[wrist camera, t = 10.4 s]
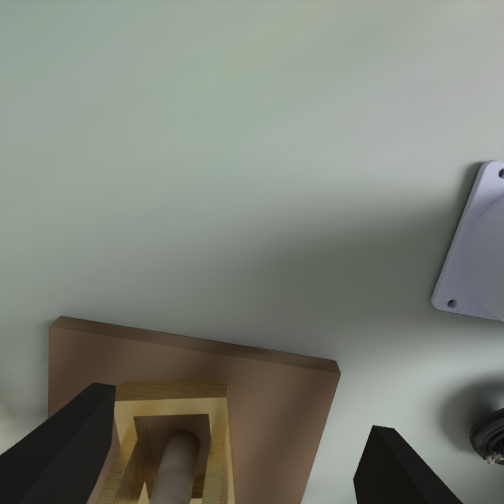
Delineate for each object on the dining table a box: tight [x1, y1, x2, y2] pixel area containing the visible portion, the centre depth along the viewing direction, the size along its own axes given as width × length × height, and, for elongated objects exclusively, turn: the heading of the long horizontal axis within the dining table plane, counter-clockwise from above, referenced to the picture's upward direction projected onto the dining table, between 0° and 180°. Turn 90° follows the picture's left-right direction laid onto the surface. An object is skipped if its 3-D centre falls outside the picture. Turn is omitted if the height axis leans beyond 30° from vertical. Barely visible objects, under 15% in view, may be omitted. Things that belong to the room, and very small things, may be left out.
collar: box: [95, 379, 237, 504], centre depth 18 cm, size 6×8×6 cm
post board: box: [48, 316, 341, 504], centre depth 19 cm, size 16×13×6 cm
